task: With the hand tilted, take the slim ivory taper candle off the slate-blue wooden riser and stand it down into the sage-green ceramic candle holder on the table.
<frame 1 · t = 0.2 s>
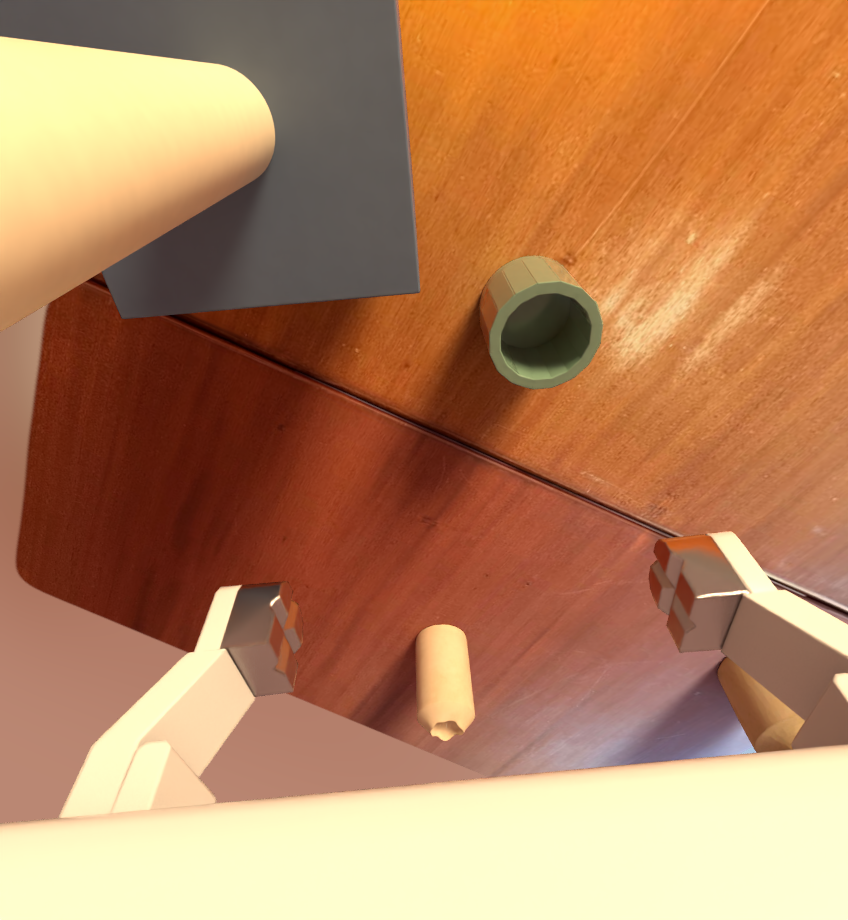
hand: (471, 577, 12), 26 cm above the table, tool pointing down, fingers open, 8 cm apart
riser: (314, 108, 28), on the table
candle: (440, 637, 56), on the table
holder: (527, 306, 35), on the table
taper: (223, 127, 14), point 17 cm above the table, touching riser
sugar bowl: (775, 665, 61), on the table
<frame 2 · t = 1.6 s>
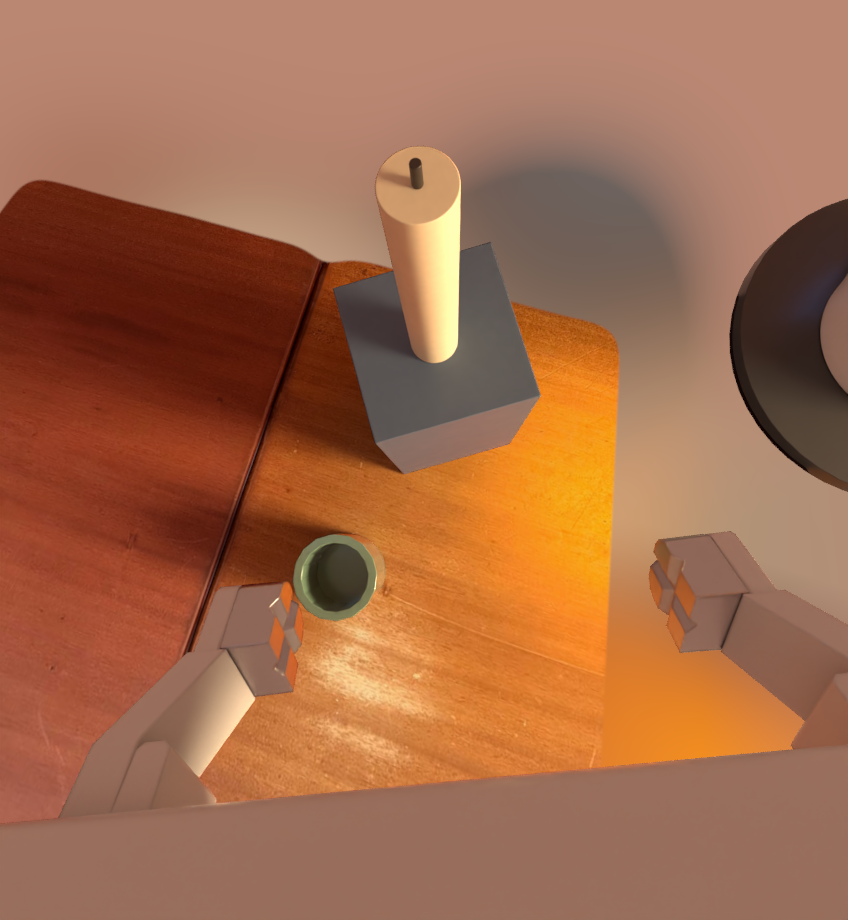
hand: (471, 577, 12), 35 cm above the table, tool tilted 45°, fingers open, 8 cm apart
riser: (441, 407, 47), on the table
holder: (348, 571, 46), on the table
taper: (434, 340, 31), point 17 cm above the table, touching riser
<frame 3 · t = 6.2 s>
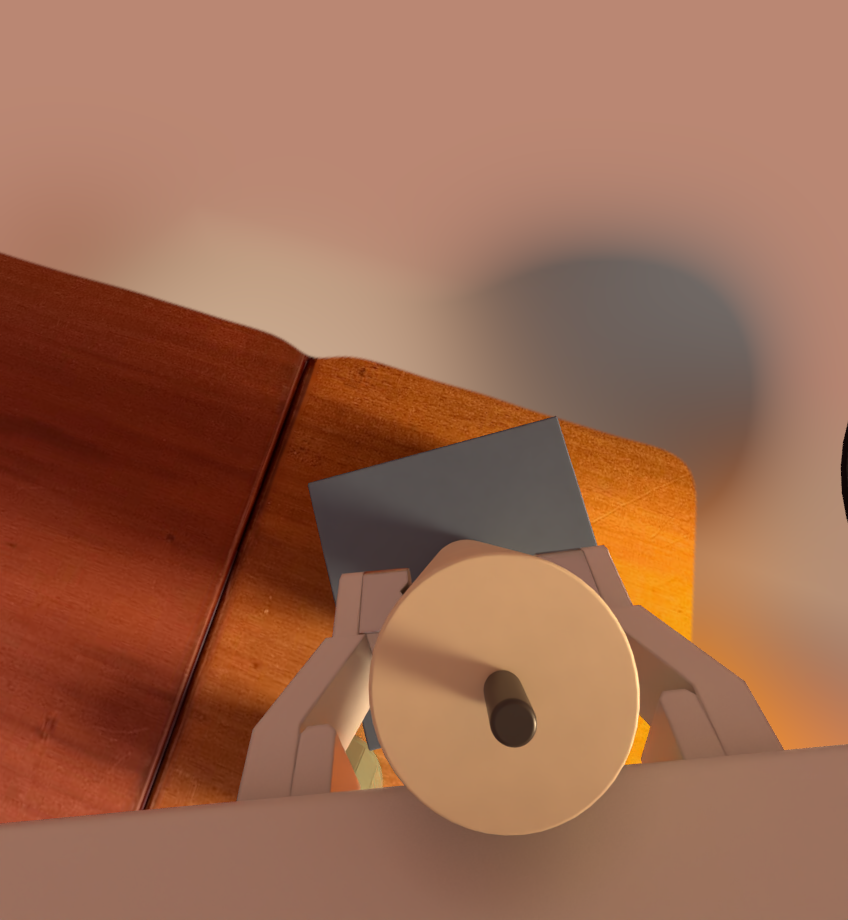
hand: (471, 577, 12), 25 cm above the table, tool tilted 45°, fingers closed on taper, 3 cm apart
riser: (460, 557, 36), on the table
holder: (333, 781, 34), on the table
taper: (466, 577, 19), point 17 cm above the table, touching gripper, riser
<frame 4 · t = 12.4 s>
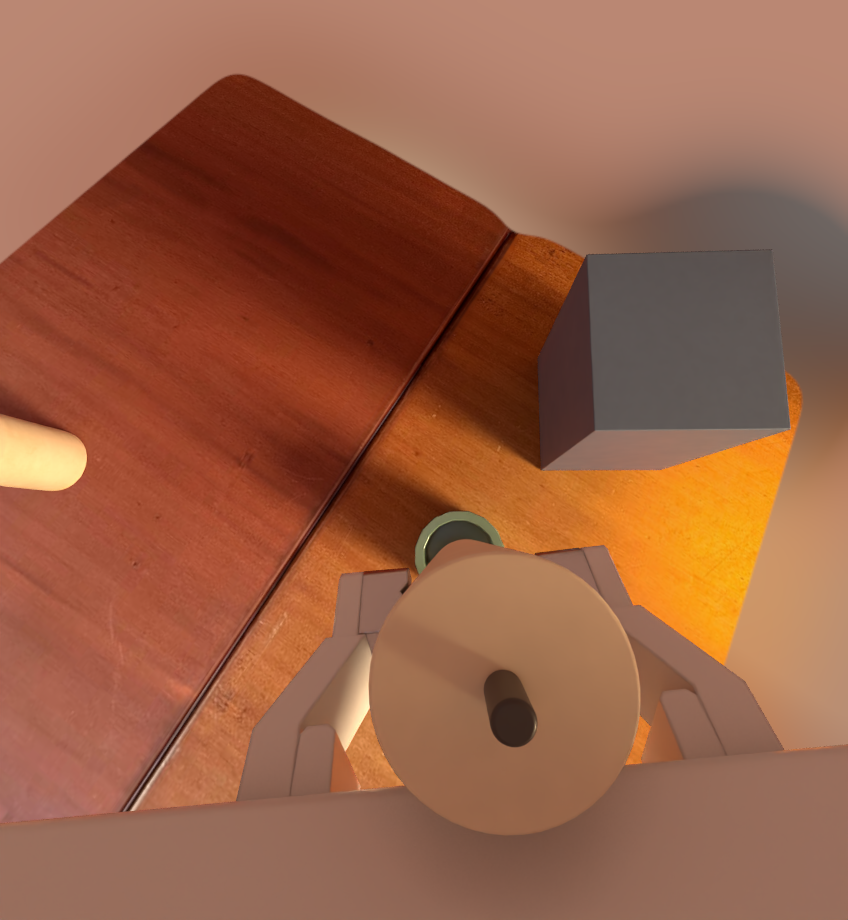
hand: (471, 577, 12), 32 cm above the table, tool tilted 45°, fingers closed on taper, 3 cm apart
riser: (597, 412, 44), on the table
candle: (60, 461, 47), on the table
holder: (458, 553, 43), on the table
taper: (467, 577, 19), point 25 cm above the table, touching gripper
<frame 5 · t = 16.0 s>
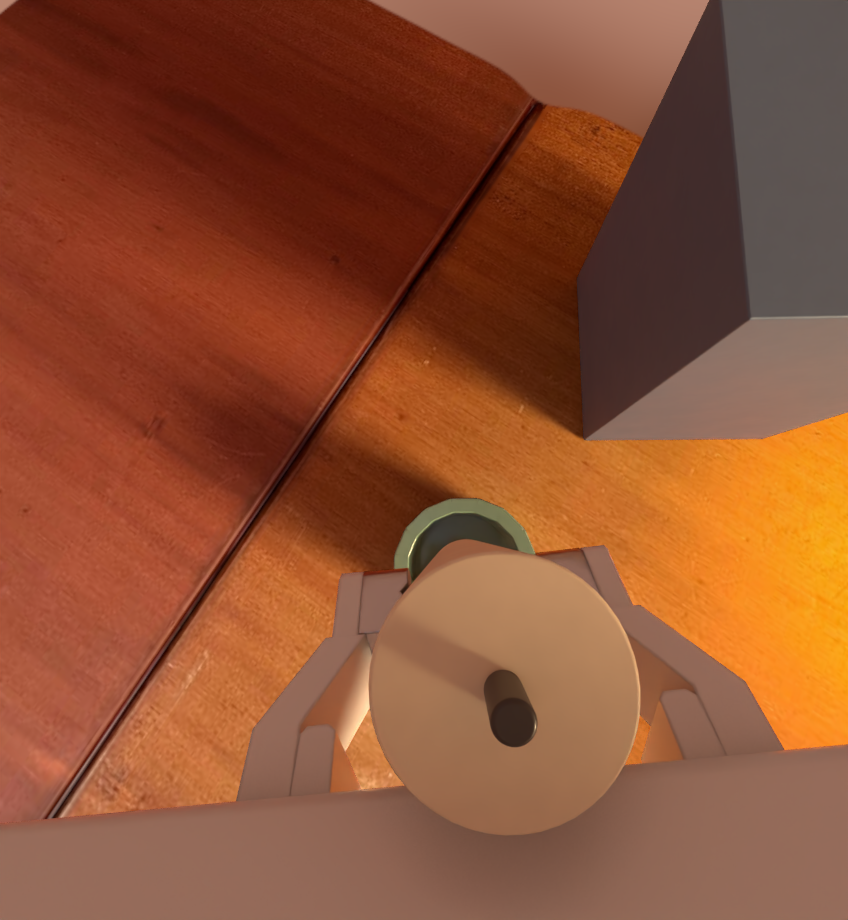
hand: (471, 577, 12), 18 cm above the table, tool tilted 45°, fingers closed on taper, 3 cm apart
riser: (666, 355, 30), on the table
holder: (462, 562, 29), on the table
taper: (467, 577, 19), point 10 cm above the table, touching gripper
when the fingers open (8 cm above the table, at t = 18.9 s): taper stays where it is, resting on holder.
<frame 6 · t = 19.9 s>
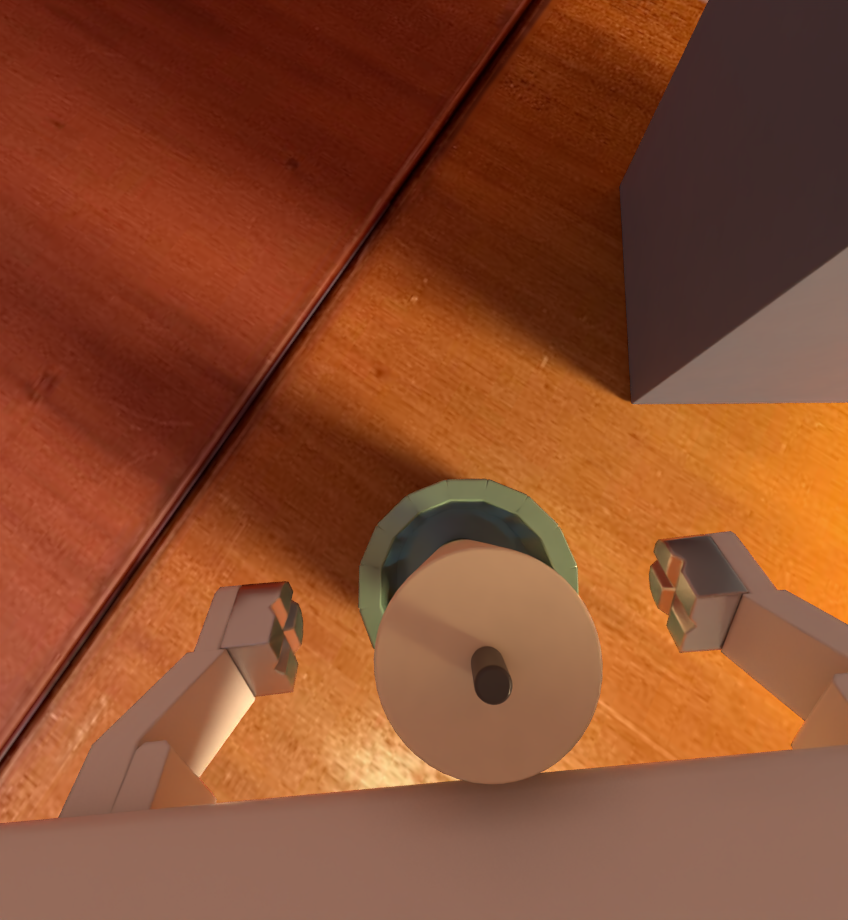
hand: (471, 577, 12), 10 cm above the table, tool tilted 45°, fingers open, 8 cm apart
riser: (744, 289, 22), on the table
holder: (463, 574, 21), on the table
taper: (463, 575, 20), point 1 cm above the table, touching holder
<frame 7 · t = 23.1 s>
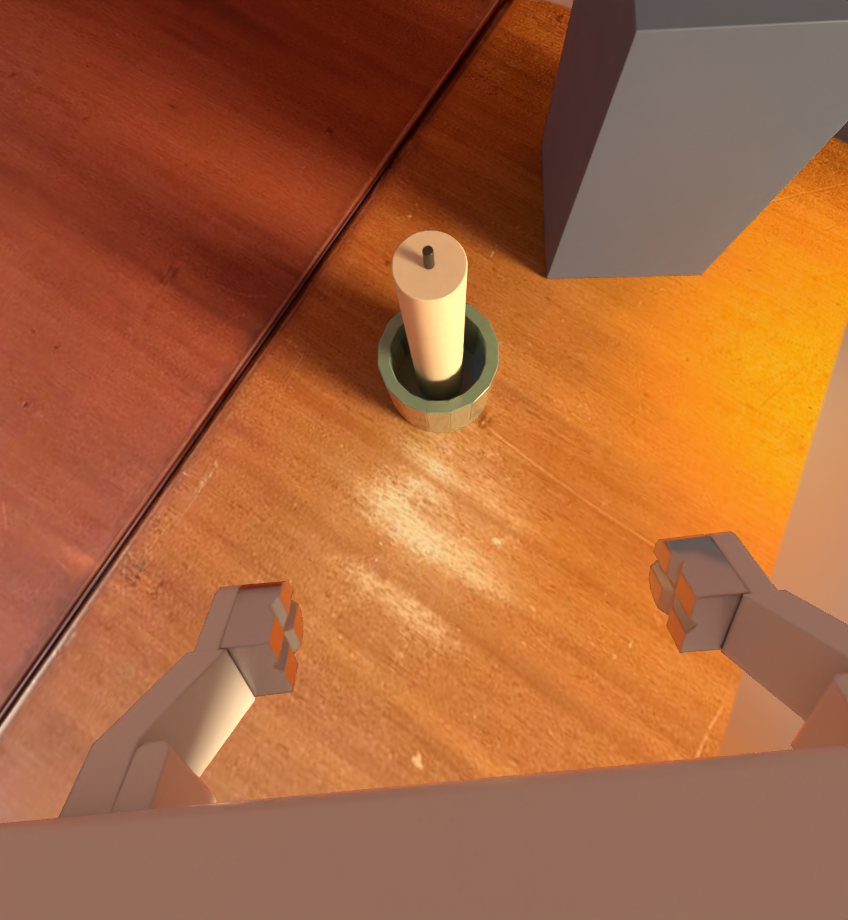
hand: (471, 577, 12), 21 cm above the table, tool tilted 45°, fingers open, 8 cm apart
riser: (619, 207, 35), on the table
holder: (440, 383, 34), on the table
taper: (439, 379, 33), point 1 cm above the table, touching holder
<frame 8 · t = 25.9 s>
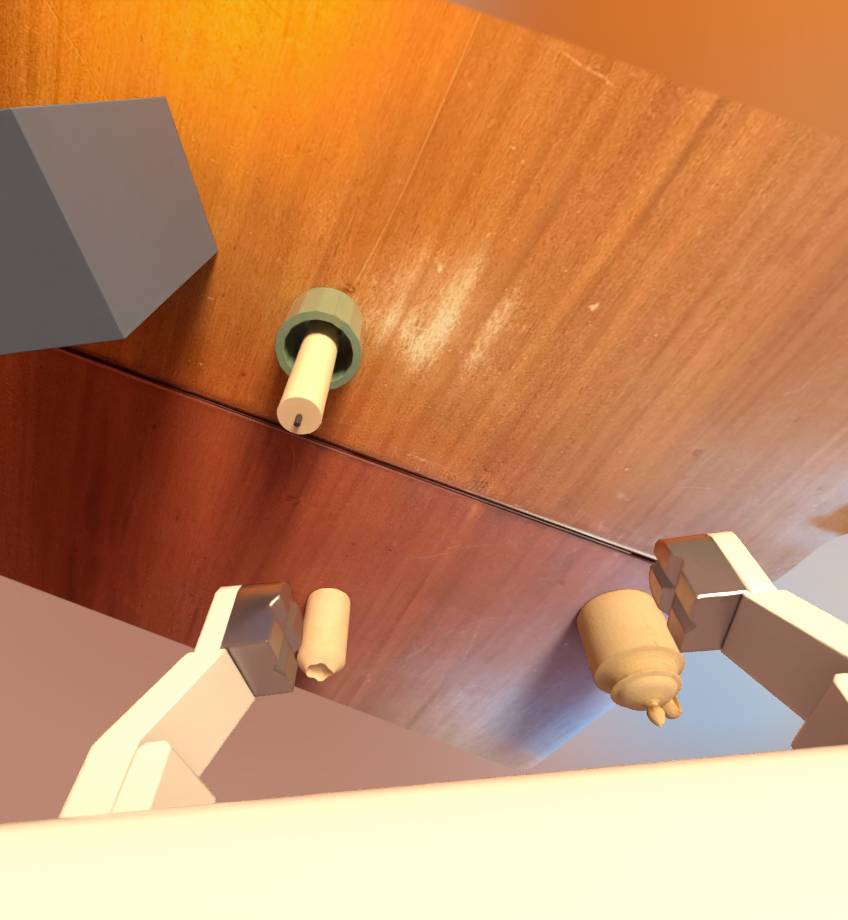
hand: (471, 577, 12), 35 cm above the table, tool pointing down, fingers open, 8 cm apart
riser: (127, 189, 38), on the table
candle: (329, 600, 66), on the table
holder: (326, 325, 44), on the table
taper: (325, 329, 44), point 1 cm above the table, touching holder
sugar bowl: (627, 616, 71), on the table
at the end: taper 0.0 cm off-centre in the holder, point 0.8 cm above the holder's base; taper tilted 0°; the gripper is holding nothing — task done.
